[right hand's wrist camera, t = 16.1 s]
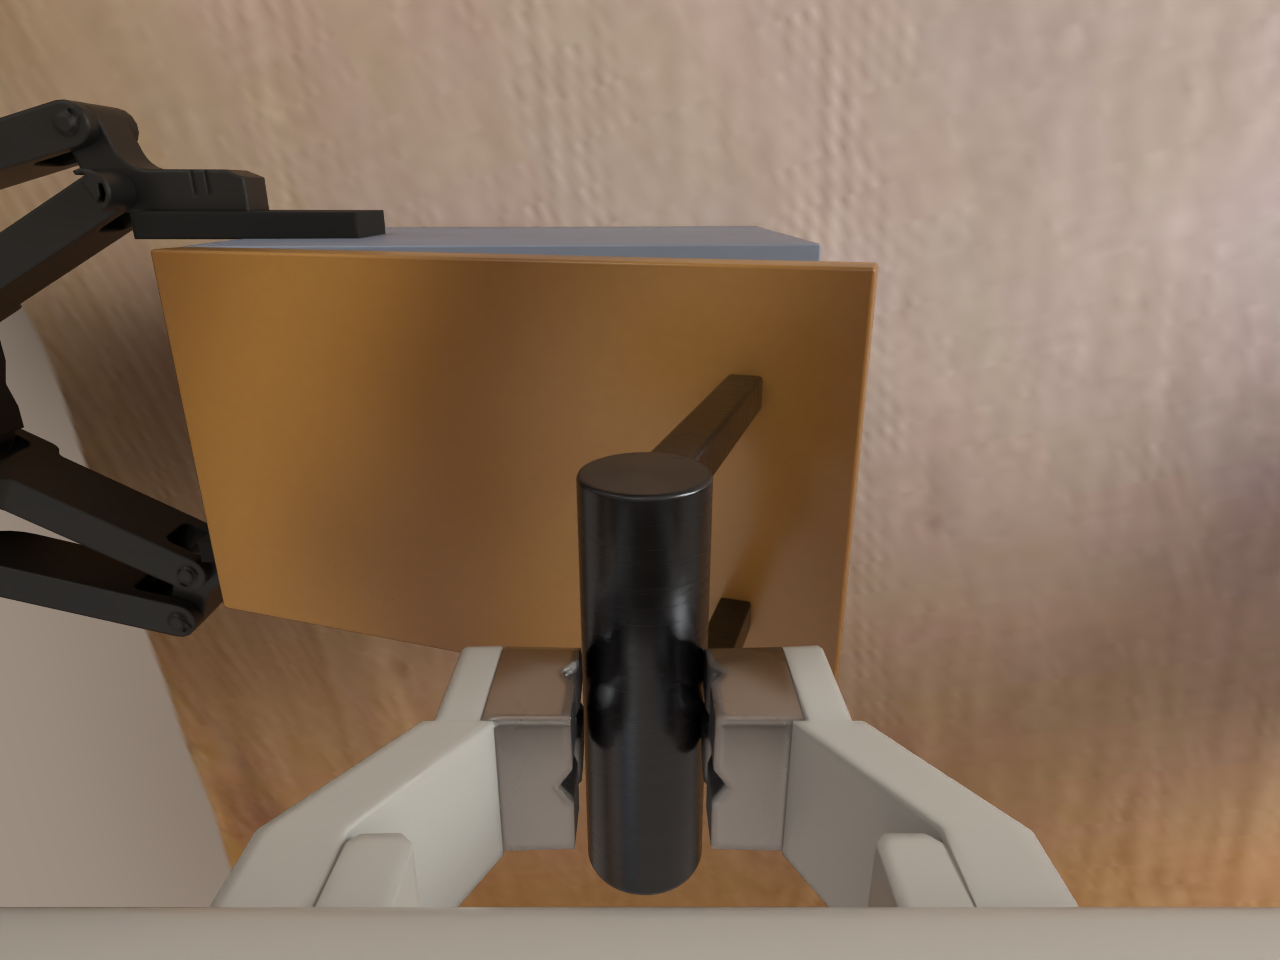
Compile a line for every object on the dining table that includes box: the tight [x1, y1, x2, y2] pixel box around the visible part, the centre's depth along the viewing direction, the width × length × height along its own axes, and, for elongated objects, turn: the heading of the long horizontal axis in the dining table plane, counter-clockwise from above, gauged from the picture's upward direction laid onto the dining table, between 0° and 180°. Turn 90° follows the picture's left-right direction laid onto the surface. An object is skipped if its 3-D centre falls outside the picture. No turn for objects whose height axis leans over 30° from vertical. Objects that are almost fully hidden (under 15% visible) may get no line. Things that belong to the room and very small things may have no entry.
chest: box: [185, 226, 821, 261], centre depth 27 cm, size 16×10×11 cm, turn 90°
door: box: [151, 247, 878, 895], centre depth 15 cm, size 17×10×8 cm, turn 90°
